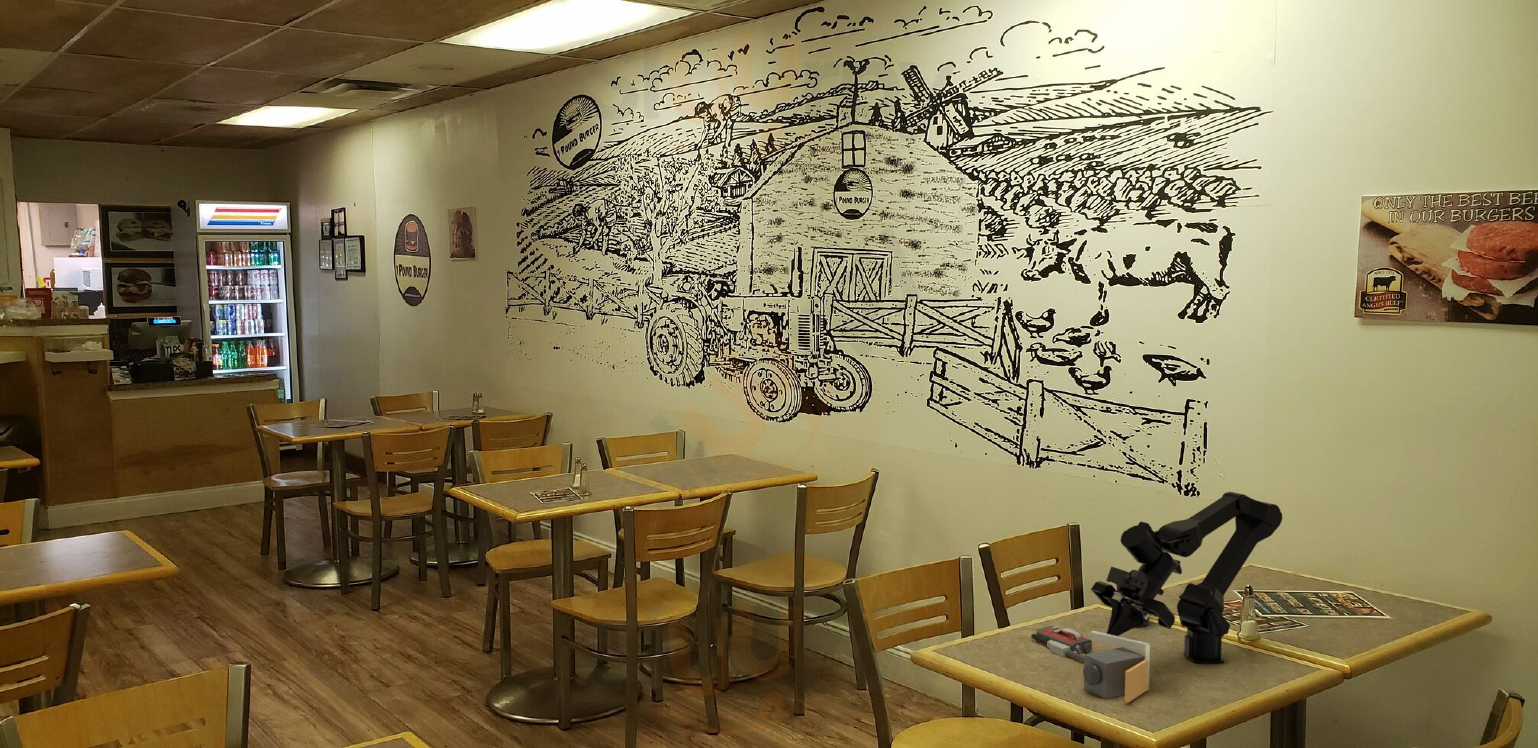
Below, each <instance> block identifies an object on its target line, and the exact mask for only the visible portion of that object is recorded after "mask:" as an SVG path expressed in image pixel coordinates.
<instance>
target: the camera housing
mask: <svg viewBox="0 0 1538 748" xmlns="http://www.w3.org/2000/svg"><path fill="white" fill-rule="evenodd" d="M1084 656H1085V657H1084V661H1083V663H1084V664H1083V665H1084V666H1083V670H1082V675H1083V689H1084V690H1085V691H1088V692H1090V693H1092V694H1094V695H1096V696H1098V697H1100V698H1103V699H1105V700H1107V699H1111V698H1116V696H1117V697H1120V695H1121V696H1125V671H1127V670H1129V669H1130V668H1132V667H1134V666H1135V665H1137V664H1139V663H1140V662H1142V661H1144V660H1145V655H1144V654H1141V653H1138V652H1136V651H1135V650H1132V649H1128V648H1124V647H1116V648H1111V649H1106V650H1101V651H1095V652H1089V653H1084Z"/></svg>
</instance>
